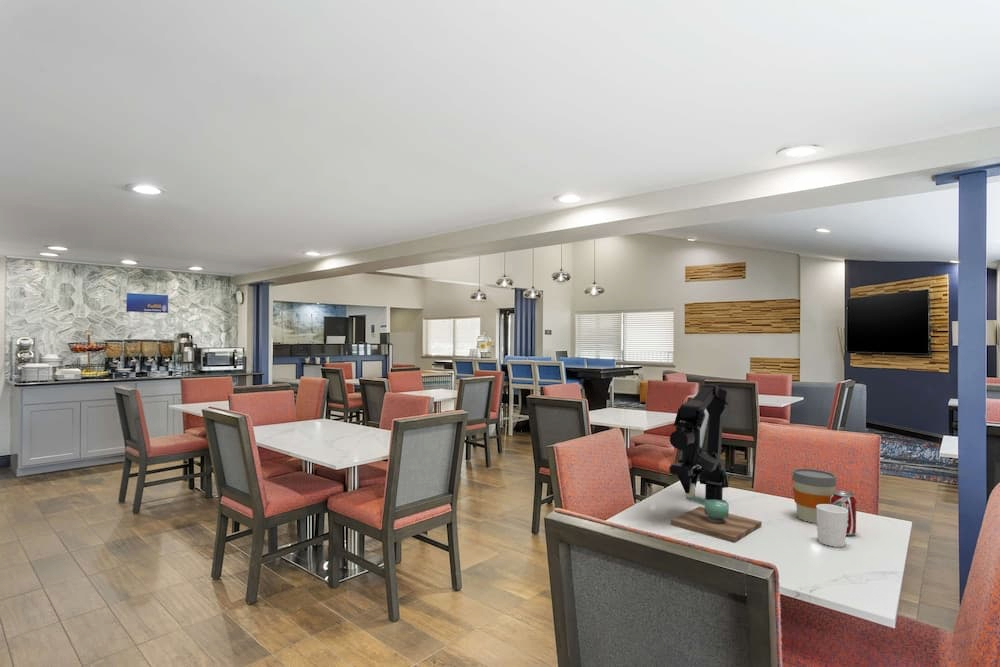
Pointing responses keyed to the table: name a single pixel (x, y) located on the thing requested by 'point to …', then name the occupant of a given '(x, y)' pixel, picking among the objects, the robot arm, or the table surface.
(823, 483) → the reusable coffee cup
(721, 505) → the teal bulbous piece
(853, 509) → the soda can
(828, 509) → the white cup
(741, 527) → the brown wooden cutting board
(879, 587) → the table surface
